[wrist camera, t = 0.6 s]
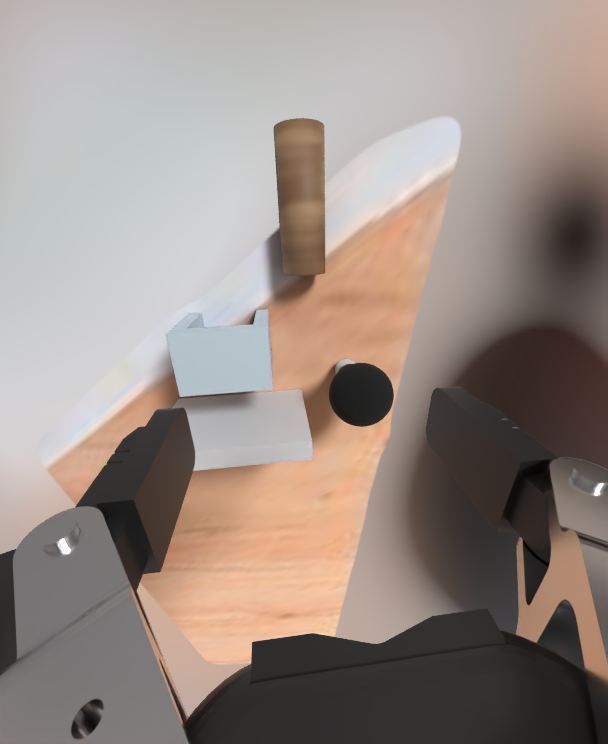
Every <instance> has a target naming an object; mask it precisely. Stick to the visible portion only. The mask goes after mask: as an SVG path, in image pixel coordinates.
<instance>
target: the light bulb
mask: <svg viewBox="0 0 608 744" xmlns="http://www.w3.org/2000/svg"><path fill="white" fill-rule="evenodd" d="M335 373H336V376H335V377H334V378H333V380H332V383H331V385H330V389H329V399H330V403H331V406H332V408H333V410H334V412H335V413H336V414H337V416H338V417H339V418H341V419H342V420H343V421H344V422H346V423H348V424H351V425H354V426H361V427H362V426H369V425H373V424H375V423H377V422H379V421H380V420H382V419H383V418H384V417H385V416H386V415H387V414H388V412H389V411H390V409H391V406H392V403H393V397H394V393H393V387H392V384H391V381H390V380H389V378H388V376H387V375H386V374H385V373H384V372H383V371H382V370H381V369H379V368H377V367H376V366H374V365H371V364H367V363H355V362H354V361H352V360H350V359H343V360H341V361H339V362H338V363H337V364H336V366H335Z"/></svg>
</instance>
